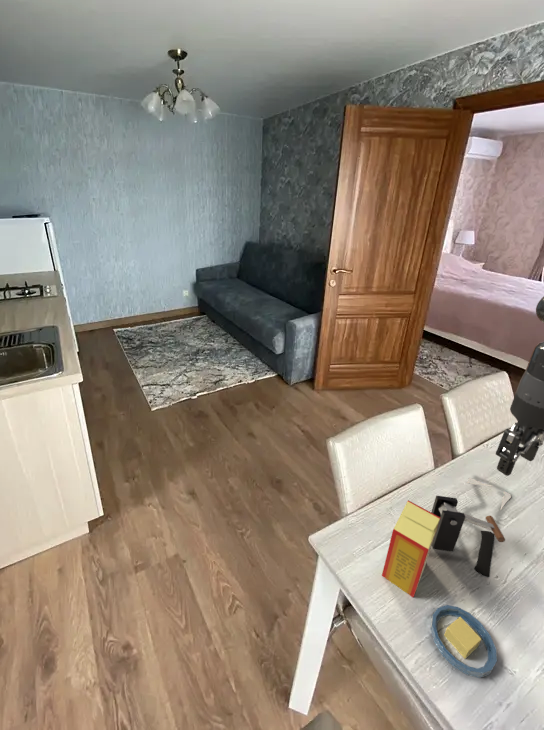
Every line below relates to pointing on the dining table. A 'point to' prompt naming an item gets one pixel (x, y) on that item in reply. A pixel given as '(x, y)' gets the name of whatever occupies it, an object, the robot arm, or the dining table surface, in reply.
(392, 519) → the dining table surface
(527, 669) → the dining table surface
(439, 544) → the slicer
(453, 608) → the blue hoop band
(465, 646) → the butter pat
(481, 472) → the dining table surface
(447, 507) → the slicer blade
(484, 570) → the kitchen cleaver
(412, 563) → the baking soda box
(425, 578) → the dining table surface
